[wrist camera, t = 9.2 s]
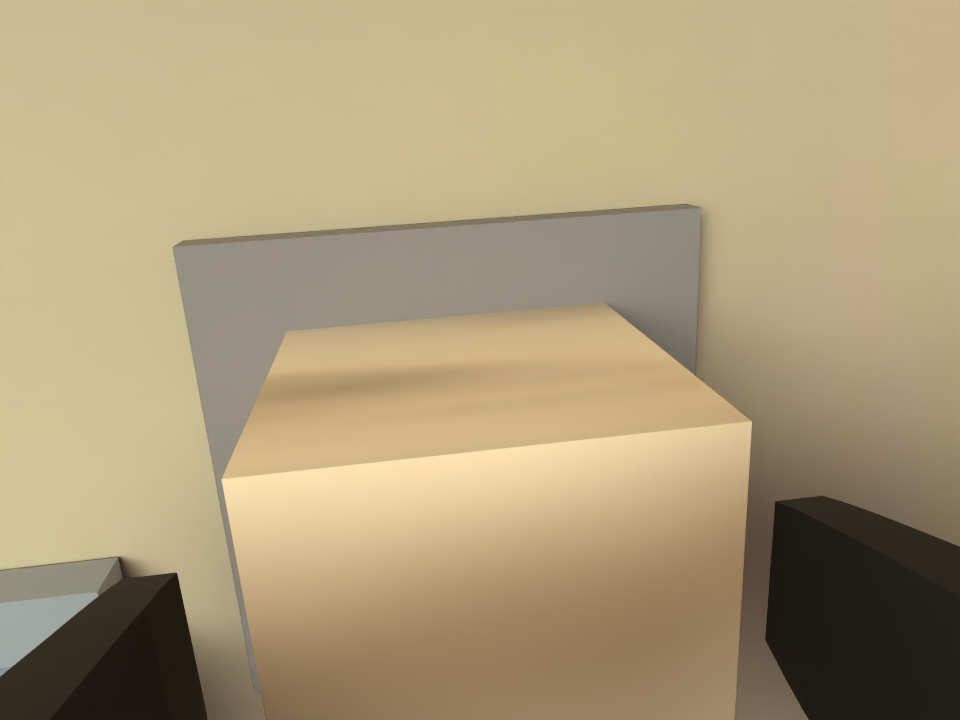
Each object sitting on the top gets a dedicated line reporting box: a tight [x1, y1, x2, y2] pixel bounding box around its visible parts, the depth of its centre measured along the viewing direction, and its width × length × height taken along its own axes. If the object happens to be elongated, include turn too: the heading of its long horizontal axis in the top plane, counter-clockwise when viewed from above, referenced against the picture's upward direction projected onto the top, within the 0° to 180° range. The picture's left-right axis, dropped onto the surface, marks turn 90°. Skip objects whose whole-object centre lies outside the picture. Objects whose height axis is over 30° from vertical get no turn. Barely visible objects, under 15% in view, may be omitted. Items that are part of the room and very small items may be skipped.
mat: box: [173, 204, 701, 693], centre depth 13 cm, size 8×8×1 cm
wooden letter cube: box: [221, 303, 752, 720], centre depth 10 cm, size 5×5×5 cm
